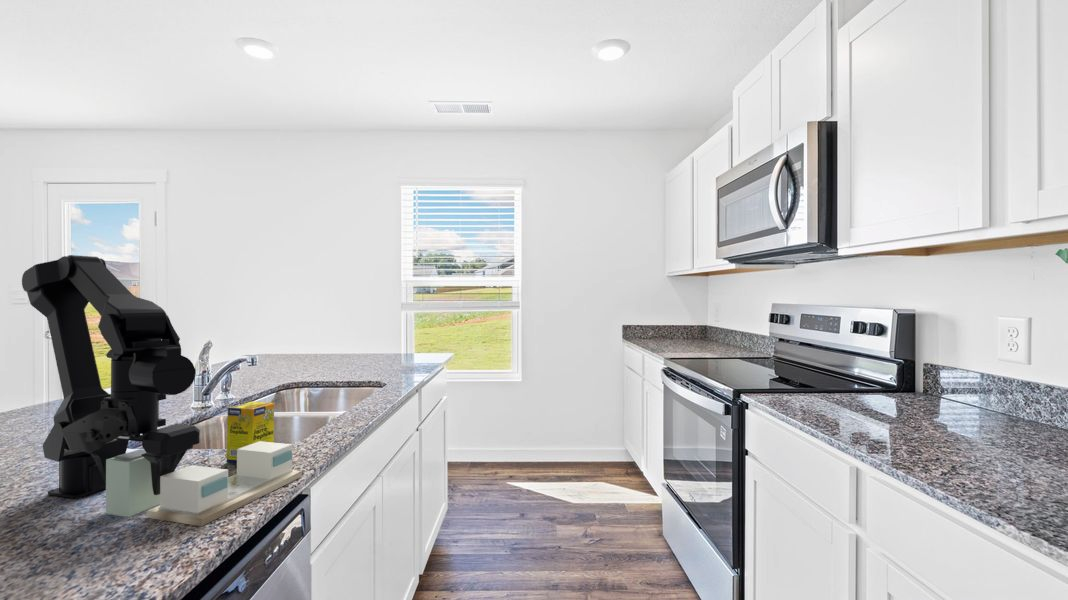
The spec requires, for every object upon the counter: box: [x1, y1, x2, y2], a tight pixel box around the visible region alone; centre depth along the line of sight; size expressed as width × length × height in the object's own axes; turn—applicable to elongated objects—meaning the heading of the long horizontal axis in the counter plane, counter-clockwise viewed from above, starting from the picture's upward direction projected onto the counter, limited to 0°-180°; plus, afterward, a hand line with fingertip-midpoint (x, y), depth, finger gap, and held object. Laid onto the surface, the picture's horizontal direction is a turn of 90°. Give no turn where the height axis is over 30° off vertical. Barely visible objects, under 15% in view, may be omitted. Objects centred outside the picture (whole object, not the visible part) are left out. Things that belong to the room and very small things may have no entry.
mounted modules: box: [159, 441, 293, 513], centre depth 80 cm, size 7×18×4 cm, turn 166°
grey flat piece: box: [158, 468, 294, 516], centre depth 80 cm, size 7×19×1 cm, turn 166°
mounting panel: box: [146, 469, 303, 527], centre depth 80 cm, size 10×20×1 cm, turn 166°
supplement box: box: [226, 401, 275, 465], centre depth 97 cm, size 6×6×11 cm
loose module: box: [105, 449, 160, 518], centre depth 75 cm, size 4×5×8 cm
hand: (134, 491), depth 75 cm, fingers open, 9 cm apart
